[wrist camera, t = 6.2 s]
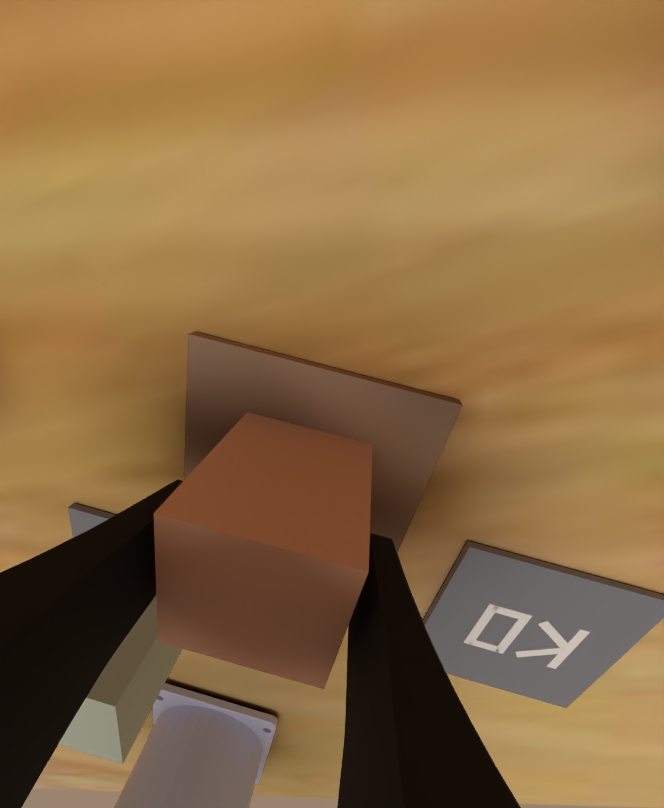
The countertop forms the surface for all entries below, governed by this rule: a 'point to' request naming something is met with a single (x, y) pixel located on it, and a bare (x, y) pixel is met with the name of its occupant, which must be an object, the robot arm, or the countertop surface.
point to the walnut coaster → (321, 417)
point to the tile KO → (534, 624)
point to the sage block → (123, 693)
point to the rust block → (266, 549)
